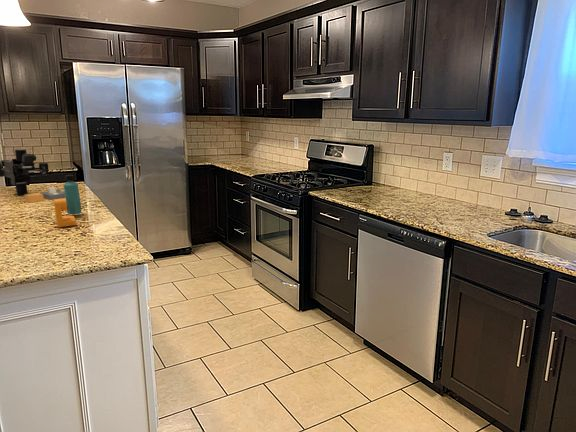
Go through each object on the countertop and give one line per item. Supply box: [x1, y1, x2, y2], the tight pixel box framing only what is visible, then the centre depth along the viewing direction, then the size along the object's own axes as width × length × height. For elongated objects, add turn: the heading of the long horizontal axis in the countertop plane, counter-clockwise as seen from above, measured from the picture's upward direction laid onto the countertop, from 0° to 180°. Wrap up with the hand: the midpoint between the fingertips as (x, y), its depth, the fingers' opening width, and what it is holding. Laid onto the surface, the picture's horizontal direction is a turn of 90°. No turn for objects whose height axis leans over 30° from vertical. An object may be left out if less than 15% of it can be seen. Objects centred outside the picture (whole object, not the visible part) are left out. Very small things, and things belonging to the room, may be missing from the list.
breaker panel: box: [39, 188, 65, 201], centre depth 249 cm, size 14×12×3 cm
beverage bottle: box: [63, 174, 82, 215], centre depth 204 cm, size 6×7×20 cm
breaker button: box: [46, 186, 57, 194], centre depth 247 cm, size 3×3×4 cm
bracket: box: [53, 198, 77, 228], centre depth 189 cm, size 11×7×12 cm, turn 31°
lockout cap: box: [24, 192, 45, 204], centre depth 238 cm, size 7×7×4 cm
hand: (36, 171), depth 236 cm, fingers open, 9 cm apart
